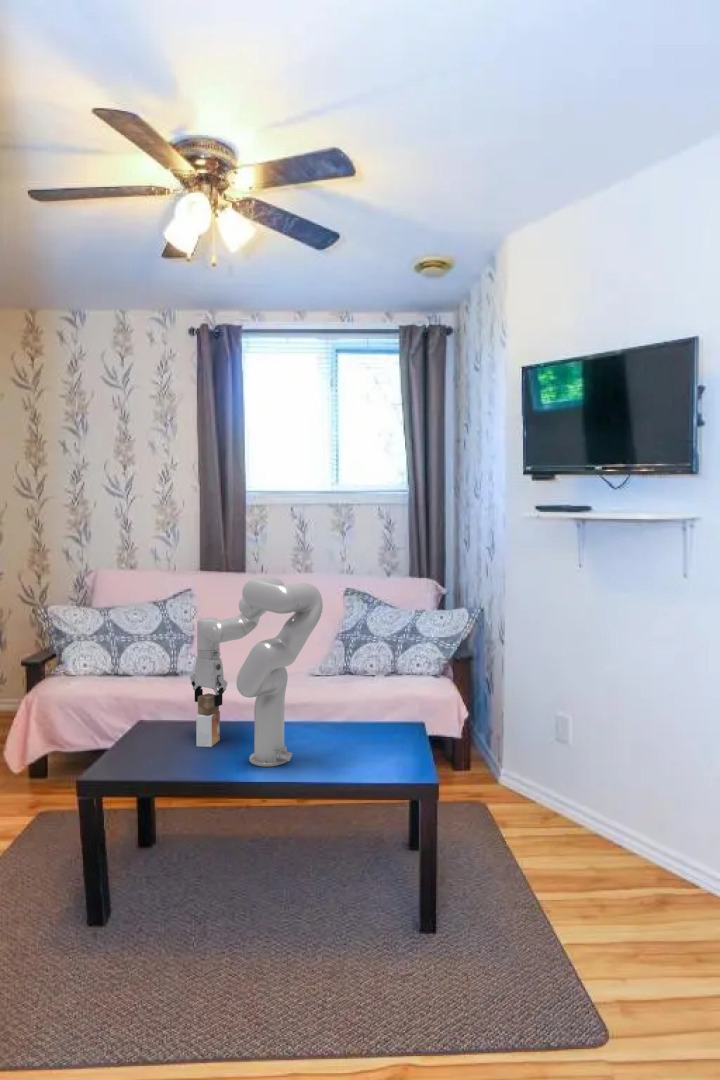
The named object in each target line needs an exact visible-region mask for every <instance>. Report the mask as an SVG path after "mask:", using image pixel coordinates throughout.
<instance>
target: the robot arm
mask: <svg viewBox="0 0 720 1080" xmlns="http://www.w3.org/2000/svg"><path fill="white" fill-rule="evenodd" d="M241 591H242V597H241V599H240V600H239V601H238V610H239V612H240V613H239V614H238V615H237V616H235V617H230V618H223V619H219V618H218V617H200V618H199V619H198V620H197V622H196V631H197V633H196V638H197V639H196V643H197V644H196V645H197V646H196V651H197V652H196V655H197V657H196V659H195V666H194V667H195V668H194V674H191V675H189V679H190V683H191V686H192V689H193V691H194V702H195V703H198V696H201V695H204V693H203V691H204V690H203V688H206V689H207V688H208V689H212V690H213V691H214V694H215V695H214V706H215V707H217V706H219V707H220V706H222V705H223V694H225V691H226V690H227V687H228V682H227V680H226V679H224V677H225V675H224V666H223V660H222V658H221V657H220V656H221V651H220V648H221V647H220V646H221V644H223V643H226V642H231V641H236V640H240V639H242V638H244V637H246V636H247V635H249V634H250V633H252V632H253V631H254V629H256V627H257V626H258V624H259V622H260V618H261V617H262V616H263V615H264V614H266V612H270V613H274V614H279V615H280V614H291V613H293V614H292V615H291V616H290V617H289V618H288V619H287V620H286V621H285V623H284V624H283V626H282V628H281V630H280V631H279V632H278V634H277V635H276V636H275V637H273V638H268V639H263V640H261V641H259V642H257V643H256V644H255V645H254V646H253V647H252V648H251V650H250V652H249V653H248V654H247V657H246V658H245V660H244V662H243V664H242V665H241V667H240V670H239V671H238V674H237V676H236V688H237V691H238V692H239V694H240V695H241V696H243V697H245V698H249V699H251V698H255V697H256V698H255V701H254V710H253V711H254V714H253V716H254V720H253V721H254V723H253V725H254V728H253V731H254V732H253V733H254V736H253V737H254V738H253V739H254V741H253V742H254V747H253V749H254V750H253V751H254V752H253V753H252V754H250V755H249V758H248V759H249V760H248V761H249V762H250V763H251V764H252V765H253V766H258V767H264V768H265V767H267V768H268V767H277V766H281V765H284V764H286V763H288V762H289V761H290V760H291V758H292V757H293V752H289V751H287V746H285V699H286V691H287V690H286V689H287V686H288V677H289V676H288V675H289V674H288V671H287V668H286V667H289V666H291V665H292V664H293V663H294V662H296V659H297V658H298V656H299V654H300V653H301V652H302V649H303V647H304V646H305V644H306V643H307V640H308V639H309V637H310V635H311V634H312V632H313V631H314V630H315V628H316V627H317V625H318V623H319V621H320V619H321V616H322V613H323V609H324V606H323V602H324V601H323V598H322V594H321V593H320V592H321V591H320V590H319V588H317V587H316V586H315V585H313V584H310V583H303V582H301V583H292V584H285V583H284V581H282V580H281V579H280V578H279V577H276V576H265V577H256V578H255V577H254V578H251V579H249V580H247V582H245V583H244V585H243V587H242V590H241Z"/></svg>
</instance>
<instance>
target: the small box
mask: <svg viewBox="0 0 720 1080" xmlns="http://www.w3.org/2000/svg"><path fill="white" fill-rule="evenodd" d="M195 719H196V723H195V724H196V725H195V729H196V730H195V732H196V733H195V734H196V739H195V740H196V741H195V742H196V743H195V744H196V747H201V748H202V747H203V748H213V746H215V745H216V744H217V743H218V742H220V740H221V737H220V736H221V731H220V730H221V726H220V725H221V711H220V710H219V713H216V714H213V715H210V716H205V715H201V714H198V715H196V718H195Z"/></svg>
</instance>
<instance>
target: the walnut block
mask: <svg viewBox="0 0 720 1080" xmlns="http://www.w3.org/2000/svg"><path fill="white" fill-rule="evenodd" d="M214 695H216V694H215V693H205V694H204V693H203V695H201V696H198V702H197V714H198V715H199V714H201V715H205V716H210V715H213V714H216V713H219V711H220V706H217V707H215V706H214Z"/></svg>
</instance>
